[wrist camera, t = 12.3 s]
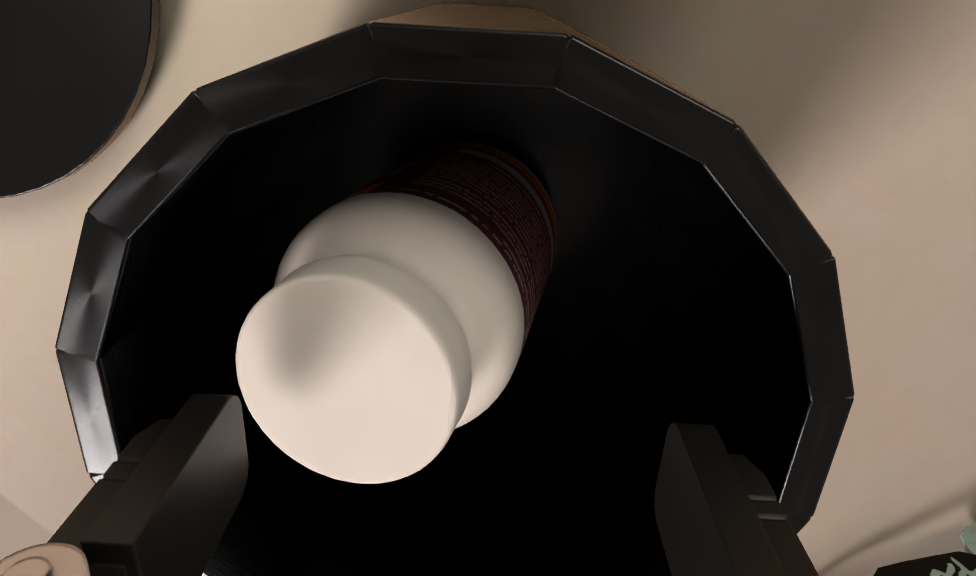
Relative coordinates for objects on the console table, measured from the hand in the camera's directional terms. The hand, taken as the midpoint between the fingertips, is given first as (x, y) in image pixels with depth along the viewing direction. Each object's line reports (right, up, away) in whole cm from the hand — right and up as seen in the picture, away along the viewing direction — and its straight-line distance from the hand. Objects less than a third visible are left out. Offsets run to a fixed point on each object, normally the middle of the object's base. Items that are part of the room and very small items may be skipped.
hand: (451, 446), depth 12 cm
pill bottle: (0, +5, +11) cm, 12 cm away
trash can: (0, +5, +12) cm, 13 cm away
